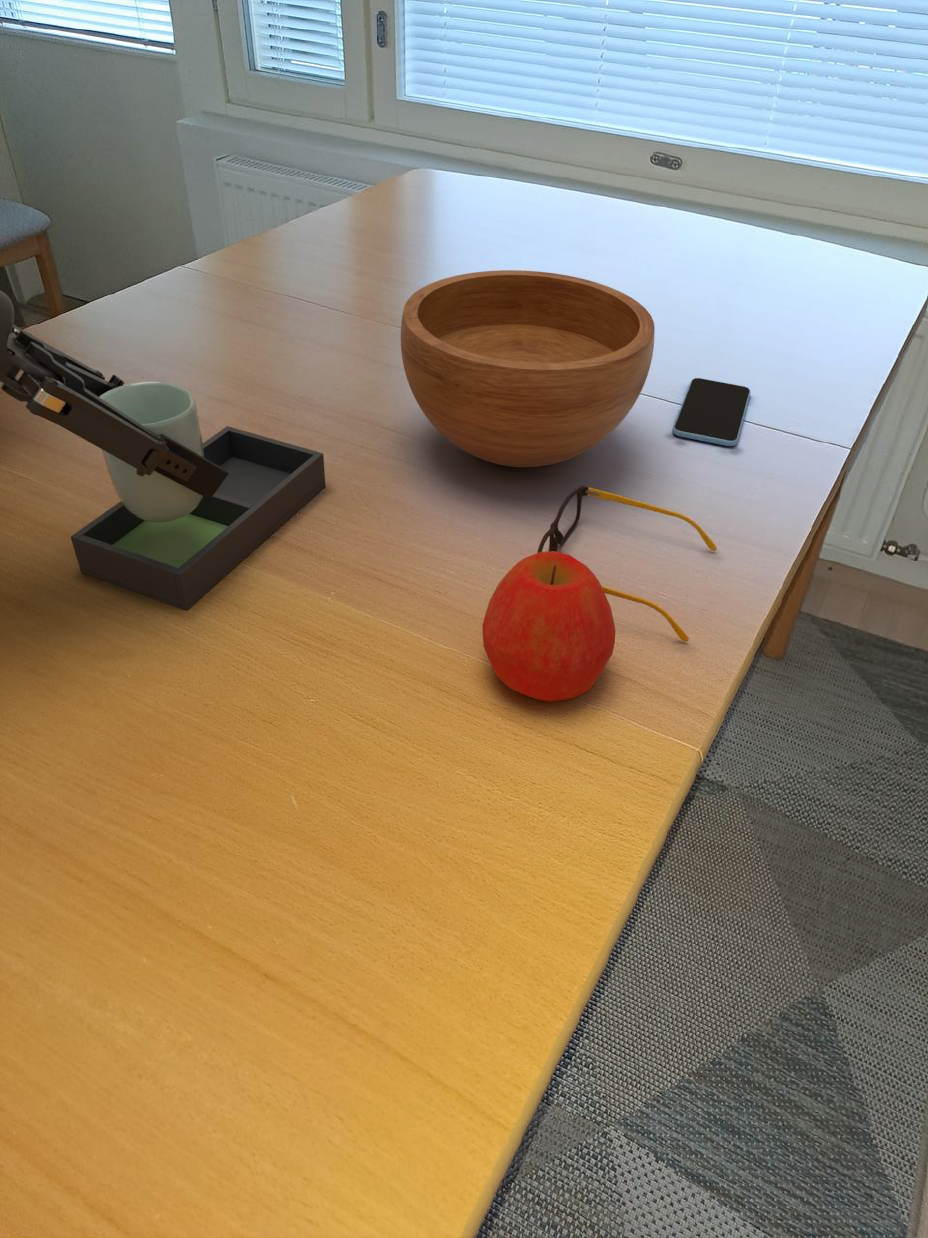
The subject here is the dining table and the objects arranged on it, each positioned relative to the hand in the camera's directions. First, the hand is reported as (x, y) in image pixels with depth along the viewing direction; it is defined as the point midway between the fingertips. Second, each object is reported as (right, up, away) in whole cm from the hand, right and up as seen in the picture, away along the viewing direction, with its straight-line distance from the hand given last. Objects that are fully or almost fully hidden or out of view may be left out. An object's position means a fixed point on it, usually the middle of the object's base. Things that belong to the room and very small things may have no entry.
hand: (196, 462), depth 78 cm
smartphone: (+52, +11, +29) cm, 61 cm away
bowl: (+29, +5, +21) cm, 36 cm away
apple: (+29, -18, -5) cm, 35 cm away
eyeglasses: (+37, -10, +5) cm, 39 cm away
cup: (-3, -4, +1) cm, 5 cm away
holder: (-1, -5, +8) cm, 9 cm away
